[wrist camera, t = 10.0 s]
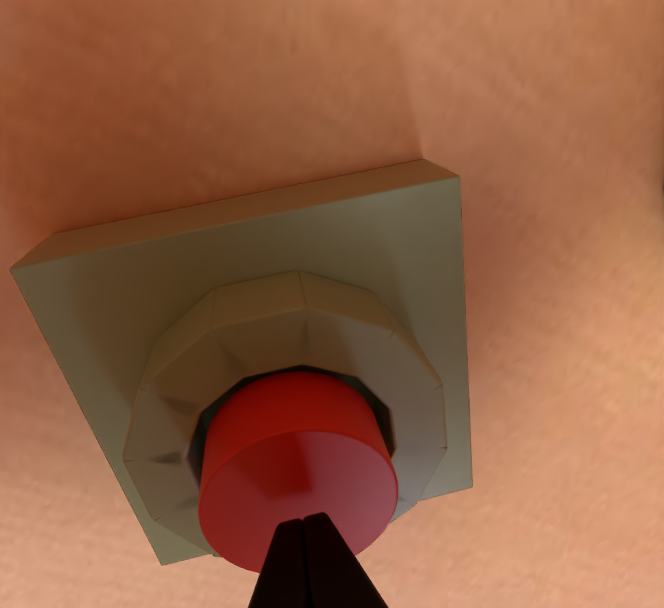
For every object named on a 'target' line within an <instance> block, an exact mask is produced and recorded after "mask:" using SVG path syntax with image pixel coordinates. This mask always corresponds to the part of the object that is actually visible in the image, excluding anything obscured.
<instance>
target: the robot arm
mask: <svg viewBox="0 0 664 608" xmlns="http://www.w3.org/2000/svg"><path fill="white" fill-rule="evenodd" d="M248 608H388V606H387V605H386V603H385V602H384V600H383V598H382V597H381V595H380V594H379V592H378V591H377V589H376V588H375V586H374V585H373V583H372V582H371V580H370V578H369V577H368V575H367V574H366V572H365V571H364V569H363V568H362V566H361V565H360V563H359V562H358V560H357V559H356V557H355V555H354V554H353V552H352V551H351V549H350V548H349V546H348V545H347V543H346V542H345V540H344V539H343V537H342V535H341V534H340V532H339V531H338V529H337V528H336V526H335V525H334V523H333V522H332V520H331V519H330V517H329V516H328V514H327V513H325V512H320V513H316V514H312V515H308V516H305V517H304V518H303V521H302V520H301V519H300V518H296V519H292V520H288V521H284V522H281V523H279V524H278V525H277V527H276V529H275V532H274V535H273V538H272V540H271V543H270V546H269V549H268V552H267V555H266V558H265V560H264V563H263V566H262V569H261V572H260V575H259V577H258V580H257V583H256V586H255V589H254V592H253V595H252V597H251V600H250V603H249V606H248Z"/></svg>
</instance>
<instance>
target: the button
mask: <svg viewBox="0 0 664 608" xmlns="http://www.w3.org/2000/svg"><path fill="white" fill-rule="evenodd" d="M398 492H399V491H398V480H397V476H396V472H395V470H394V467H393V464H392V461H391V459H390V456H389V453H388V451H387V448H386V445H385V443H384V440H383V437H382V435H381V432H380V429H379V426H378V424H377V421H376V418H375V416H374V413H373V411H372V409H371V407H370V405H369V404H368V402H367V401H366V399H365V398H364V397H363V396H362V395H361V394H360V393H359V392H358V391H357V390H355V389H354V388H353V387H352V386H350V385H348V384H347V383H345V382H343V381H341V380H339V379H337V378H334V377H332V376H328V375H325V374H321V373H315V372H305V371H295V372H284V373H278V374H274V375H270V376H267V377H263V378H261V379H258V380H256V381H254V382H252V383H250V384H248V385H246V386H244V387H243V388H241V389H240V390H238V391H237V392H236V393H234V394H233V395H232V396H231V397H230V398H229V399H227V400H226V401H225V402H224V403H223V405H222V406H221V407H220V408H219V410H218V411H217V412H216V414H215V416H214V417H213V419H212V421H211V423H210V426H209V428H208V432H207V436H206V443H205V451H204V460H203V468H202V476H201V485H200V493H199V502H198V519H199V524H200V527H201V530H202V533H203V535H204V537H205V538H206V540H207V542H208V543H209V544H210V546H211V547H212V548H213V549H214V550H215V551H216V552H217V553H218V554H219V555H220V556H221V557H223V558H224V559H226V560H227V561H229V562H231V563H232V564H234V565H236V566H238V567H241V568H244V569H246V570H249V571H253V572H257V573H260V572H261V569H262V566H263V563H264V560H265V558H266V555H267V552H268V549H269V546H270V543H271V540H272V538H273V535H274V532H275V529H276V527H277V525H278V524H279V523H281V522H284V521H288V520H292V519H296V518H300V519H301V520H302V521H303V518H304V517H305V516H308V515H312V514H316V513H320V512H325V513H327V514H328V516H329V517H330V519H331V520H332V522H333V523H334V525H335V526H336V528H337V529H338V531H339V532H340V534H341V535H342V537H343V539H344V540H345V542H346V543H347V545H348V546H349V548H350V549H351V551H352V552H353V554H354V555H357V554H359V553H360V552H362V551H363V550H364V549H366V548H367V547H368V546H369V545H371V544H372V543H373V542H374V541H375V540H376V539H377V538H378V537H379V536H380V535H381V533H382V532H383V531H384V530H385V528H386V527H387V525H388V524H389V522H390V520H391V518H392V516H393V514H394V512H395V508H396V505H397V500H398Z"/></svg>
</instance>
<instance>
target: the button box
mask: <svg viewBox="0 0 664 608" xmlns="http://www.w3.org/2000/svg"><path fill="white" fill-rule="evenodd" d="M10 271H11V273H12V275H13V277H14V279H15V281H16V283H17V285H18V287H19V289H20V291H21V293H22V295H23V297H24V299H25V301H26V303H27V305H28V306H29V308H30V310H31V312H32V314H33V316H34V318H35V320H36V322H37V324H38V326H39V328H40V330H41V332H42V334H43V336H44V338H45V340H46V341H47V343H48V345H49V347H50V349H51V351H52V353H53V355H54V357H55V359H56V361H57V363H58V365H59V367H60V369H61V371H62V373H63V375H64V377H65V378H66V380H67V382H68V384H69V386H70V388H71V390H72V392H73V394H74V396H75V398H76V400H77V402H78V404H79V406H80V408H81V410H82V412H83V414H84V415H85V417H86V419H87V421H88V423H89V425H90V427H91V429H92V431H93V433H94V435H95V437H96V439H97V441H98V443H99V445H100V447H101V449H102V450H103V452H104V454H105V456H106V458H107V460H108V462H109V464H110V466H111V468H112V470H113V472H114V474H115V476H116V478H117V480H118V482H119V484H120V486H121V487H122V489H123V491H124V493H125V495H126V497H127V499H128V501H129V503H130V505H131V507H132V509H133V511H134V513H135V515H136V517H137V519H138V521H139V522H140V524H141V526H142V528H143V530H144V532H145V534H146V536H147V538H148V540H149V542H150V544H151V546H152V548H153V550H154V552H155V554H156V556H157V558H158V559H159V561H160V563H161V565H163V566H164V565H168V564H172V563H175V562H179V561H183V560H187V559H191V558H195V557H199V556H203V555H207V554H213V556H214V557H221V556H220V555H219V554H218V553H217V552H216V551H215V550H214V549H213V548H212V547H211V546H210V544H209V543H208V542H207V540H206V538H205V537H204V535H203V533H202V530H201V527H200V524H199V519H198V502H199V493H200V485H201V476H202V468H203V460H204V451H205V443H206V436H207V432H208V428H209V426H210V423H211V421H212V419H213V417H214V416H215V414H216V412H217V411H218V410H219V408H220V407H221V406H222V405H223V403H224V402H225V401H226V400H227V399H229V398H230V397H231V396H232V395H233V394H234V393H236V392H237V391H238V390H240V389H241V388H243V387H244V386H246V385H248V384H250V383H252V382H254V381H256V380H258V379H261V378H263V377H267V376H270V375H274V374H278V373H284V372H295V371H305V372H315V373H321V374H325V375H328V376H332V377H334V378H337V379H339V380H341V381H343V382H345V383H347V384H348V385H350V386H352V387H353V388H354V389H355V390H357V391H358V392H359V393H360V394H361V395H362V396H363V397H364V398H365V399H366V401H367V402H368V404H369V405H370V407H371V409H372V411H373V413H374V416H375V418H376V421H377V424H378V426H379V429H380V432H381V435H382V437H383V440H384V443H385V445H386V448H387V451H388V453H389V456H390V459H391V461H392V464H393V467H394V470H395V472H396V476H397V480H398V491H399V492H398V500H397V505H396V508H395V512H394V514H393V516H392V518H391V520H390V522H389V523H391V522H392V521H393V520H395V519H396V518H398V517H399V516H401V515H402V514H403V513H405V512H406V511H408V510H409V509H411V508H412V507H413V506H414V505H415V504H417V502H418V501H421V500H424V499H428V498H432V497H436V496H440V495H444V494H448V493H452V492H456V491H460V490H464V489H468V488H472V487H473V479H472V455H471V430H470V406H469V382H468V357H467V333H466V309H465V284H464V260H463V236H462V211H461V187H460V176H459V175H457V174H455V173H453V172H451V171H449V170H447V169H444V168H442V167H440V166H438V165H436V164H434V163H431V162H429V161H427V160H425V159H422V160H417V161H412V162H407V163H402V164H397V165H392V166H388V167H383V168H378V169H373V170H368V171H363V172H358V173H353V174H348V175H343V176H338V177H333V178H328V179H323V180H318V181H313V182H308V183H303V184H298V185H293V186H289V187H284V188H279V189H274V190H269V191H264V192H259V193H254V194H249V195H244V196H239V197H234V198H229V199H224V200H219V201H214V202H209V203H204V204H199V205H194V206H189V207H185V208H180V209H175V210H170V211H165V212H160V213H155V214H150V215H145V216H140V217H135V218H130V219H125V220H120V221H115V222H110V223H105V224H100V225H95V226H90V227H85V228H81V229H76V230H71V231H66V232H61V233H56V234H52V235H50V236H49V237H48V238H47V239H45V240H44V241H43V242H42V243H40V244H39V245H38V246H37V247H35V248H34V249H33V250H32V251H30V252H29V253H28V254H27V255H25V256H24V257H23V258H21V259H20V260H19V261H18V262H16V263H15V264H14V265H13V266H11V267H10ZM222 558H223V557H222Z"/></svg>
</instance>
